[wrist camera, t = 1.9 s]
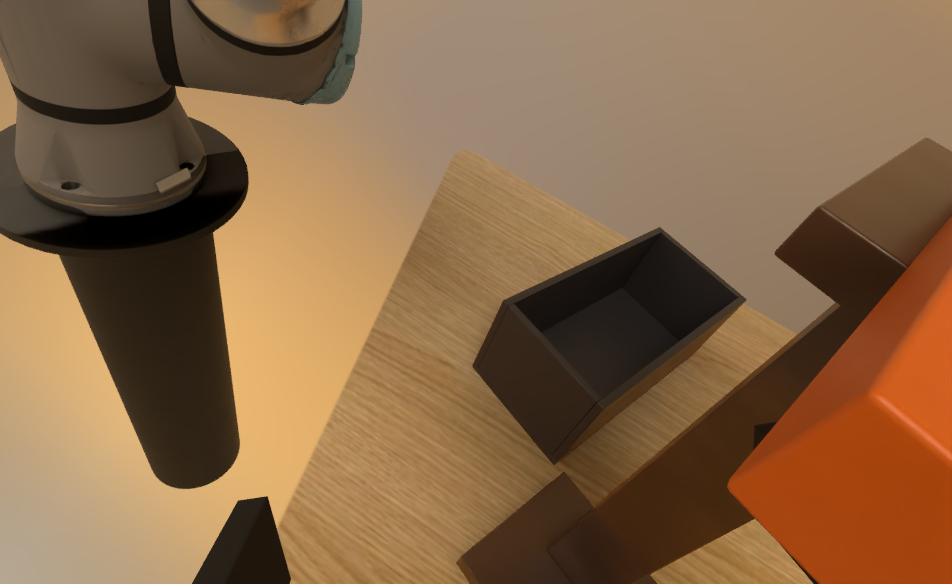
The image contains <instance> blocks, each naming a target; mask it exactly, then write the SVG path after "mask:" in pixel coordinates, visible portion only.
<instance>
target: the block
mask: <svg viewBox="0 0 952 584" xmlns="http://www.w3.org/2000/svg"><path fill="white" fill-rule="evenodd" d="M727 488H728V489H729V491H730V493H731V494H732V495H733V496H734V497H735V498H736V499H737V500H738V501H739V502H740V503H741V504H742V505H743V506H744V507H745V508H746V509H747V510H748V511H749V512H750V513H751V514H752V516H753V517H754V518H755V519H756V520H757V521H758V522H759V523H760V524H761V525H762V526H763V527H764V528H765V529H766V530H767V531H768V532H769V533H770V534H771V535H772V536H773V537H774V538H775V539H776V540H777V541H778V542H779V543H780V544H781V545H782V546H783V547H784V549H785V550H786V551H787V552H788V553H789V554H790V555H791V556H792V557H793V558H794V559H795V560H796V561H797V562H798V563H799V564H800V565H801V566H802V567H803V568H804V569H805V570H806V571H807V572H808V573H809V574H810V575H811V576H812V577H813V578H814V579H815V580H816V581H817V583H818V584H952V216H951V217H950V218H949V219H948V221H947V222H946V223H945V224H944V225H943V227H942V228H941V229H940V230H939V231H938V232H937V234H936V235H935V236H934V237H933V238H932V239H931V241H930V242H929V243H928V244H927V245H926V247H925V248H924V249H923V250H922V251H921V252H920V254H919V255H918V256H917V257H916V258H915V260H914V261H913V262H912V263H911V265H910V266H909V267H908V268H907V270H906V271H905V272H904V273H903V274H902V275H901V277H900V278H899V279H898V280H897V281H896V283H895V284H894V285H893V286H892V287H891V288H890V290H889V291H888V292H887V293H886V294H885V296H884V297H883V298H882V299H881V300H880V301H879V303H878V304H877V305H876V306H875V307H874V309H873V310H872V311H871V312H870V313H869V314H868V316H867V317H866V318H865V319H864V320H863V322H862V323H861V324H860V325H859V326H858V328H857V329H856V330H855V331H854V332H853V333H852V335H851V336H850V337H849V338H848V339H847V341H846V342H845V343H844V344H843V345H842V346H841V348H840V349H839V350H838V351H837V352H836V354H835V355H834V356H833V357H832V358H831V359H830V361H829V362H828V363H827V364H826V365H825V367H824V368H823V369H822V370H821V371H820V372H819V374H818V375H817V376H816V377H815V378H814V380H813V381H812V382H811V383H810V384H809V385H808V387H807V388H806V389H805V390H804V391H803V393H802V394H801V395H800V396H799V397H798V398H797V400H796V401H795V402H794V403H793V404H792V406H791V407H790V408H789V409H788V410H787V411H786V413H785V414H784V415H783V416H782V417H781V419H780V420H779V421H778V422H777V423H776V425H775V426H774V427H773V428H772V429H771V430H770V432H769V433H768V434H767V435H766V436H765V438H764V439H763V440H762V441H761V442H760V443H759V445H758V446H757V447H756V448H755V449H754V451H753V452H752V453H751V454H750V455H749V456H748V458H747V459H746V460H745V461H744V462H743V464H742V465H741V466H740V467H739V468H738V469H737V471H736V472H735V473H734V474H733V475H732V477H731V478H730V479H729V482H728V485H727Z"/></svg>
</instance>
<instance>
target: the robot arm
mask: <svg viewBox="0 0 952 584" xmlns="http://www.w3.org/2000/svg"><path fill="white" fill-rule="evenodd" d="M361 22H362V0H0V58H1V60H2V63H3V65H4V67H5V70H6V72H7V75H8V78H9V80H10V82H11V85H12V87H13V90H14V92H15V95H16V98H17V119H16V139H15V160H16V166H17V169H18V171H19V174H20V176H21V178H22V180H23V183H24V185H25V186H26V188H27V189H28V191H29V192H30V193H31V194H32V195H33V196H34V197H35V198H37V199H38V200H39V201H41V202H42V203H44V204H46V205H48V206H50V207H52V208H54V209H57V210H59V211H62V212H65V213H69V214H73V215H77V216H82V217H89V218H98V219H126V218H136V217H142V216H148V215H152V214H156V213H160V212H163V211H166V210H169V209H171V208H174V207H176V206H178V205H180V204H182V203H183V202H185V201H187V200H188V199H190V198H191V197H192V196H194V195H195V194H196V193H197V192H198V191H199V190H200V189H201V187H202V186H203V184H204V182H205V181H206V178H207V173H208V167H207V159H206V153H205V149H204V147H203V145H202V142H201V140H200V138H199V136H198V135H197V133H196V131H195V129H194V127H193V125H192V124H191V122H190V120H189V118H188V116H187V115H186V113H185V111H184V109H183V107H182V105H181V104H180V102H179V100H178V98H177V95H176V89H175V86H180V87H186V88H188V87H189V88H197V89H204V90H213V91H219V92H227V93H235V94H242V95H249V96H257V97H265V98H272V99H280V100H287V101H292V102H293V103H296V104H300V105H304V104H309V103H316V104H332V103H335V102H337V101H338V100H340V99H341V98H342V96H343V95H344V94H345V92H346V90H347V89H348V86H349V84H350V81H351V79H352V75H353V72H354V68H355V55H356V54H357V52H358V47H359V41H360V34H361ZM776 423H777V422H772V423H765V424H758V425H754V445H753V451H754V449H755V448H756V447H757V446H758V445H759V443H760V442H761V441H762V440H763V439H764V438H765V436H766V435H767V434H768V433H769V432H770V430H771V429H772V428H773V427H774V426H775V425H776ZM780 545H781V544H780ZM781 546H782V545H781ZM782 547H783V546H782ZM783 548H784V547H783ZM786 552H787V551H786ZM787 553H788V552H787ZM788 554H789V553H788ZM789 555H790V554H789ZM790 556H791V555H790ZM791 558H792V559H793V560H794V561H795V562H796V563H797V565H798V566H799V567H800V568H801V569H802V570H803V572H804V573H805V574H806V575H807V576H808V578H809V579H810V580H811V581H812V582H813V583H814V584H818V583H817V581H816V580H815V579H814V578H813V577H812V576H811V575H810V574H809V573H808V572H807V571H806V570H805V569H804V568H803V567H802V566H801V565H800V564H799V563H798V562H797V561H796V560H795V559H794V558H793V557H792V556H791ZM290 581H291V578H290V574H289V571H288V567H287V564H286V560H285V557H284V553H283V549H282V546H281V542H280V539H279V535H278V532H277V528H276V525H275V521H274V518H273V514H272V511H271V507H270V504H269V500H268V497H260V498H254V499H247V500H240V501H238V502H237V504H236V505H235V507H234V509H233V511H232V513H231V514H230V516H229V518H228V520H227V522H226V523H225V525H224V527H223V529H222V531H221V532H220V534H219V536H218V538H217V540H216V541H215V543H214V545H213V547H212V549H211V551H210V552H209V554H208V556H207V558H206V559H205V561H204V563H203V565H202V567H201V568H200V570H199V572H198V574H197V576H196V577H195V579H194V581H193V583H192V584H290Z"/></svg>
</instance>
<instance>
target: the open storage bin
mask: <svg viewBox="0 0 952 584" xmlns="http://www.w3.org/2000/svg"><path fill="white" fill-rule="evenodd" d="M745 301H746V298H744V297H743V296H741V294H739V293H738V292H737V291H736V290H735V289H734V288H732V287H731V286H730V285H729V284H727V283H726V282H725V281H724V280H723V279H721V278H720V277H719V276H718V275H717V274H715V273H714V272H713V271H712V270H711V269H709V268H708V267H707V266H706V265H705V264H703V263H702V262H701V261H700V260H699V259H697V258H696V257H695V256H694V255H693V254H691V253H690V252H689V251H688V250H687V249H685V248H684V247H683V246H682V245H680V244H679V243H678V242H677V241H676V240H674V239H673V238H672V237H671V236H670V235H669V234H667V233H666V232H665V231H664V230H662V229H661V228H660V227H659V228H657V229H655V230H653V231H650V232H648V233H646V234H644V235H642V236H640V237H638V238H636V239H633V240H631V241H629V242H627V243H625V244H623V245H621V246H619V247H616V248H614V249H612V250H610V251H608V252H606V253H604V254H601V255H599V256H597V257H595V258H593V259H591V260H589V261H587V262H584V263H582V264H580V265H578V266H576V267H574V268H572V269H570V270H567V271H565V272H563V273H561V274H559V275H557V276H555V277H552V278H550V279H548V280H546V281H544V282H542V283H540V284H538V285H535V286H533V287H531V288H529V289H527V290H525V291H523V292H520V293H518V294H516V295H514V296H512V297H510V298H508V299H506V300H504V301H503V302H502V304H501V306H500V309H499V311H498V313H497V315H496V317H495V319H494V321H493V323H492V326H491V328H490V330H489V332H488V334H487V336H486V338H485V340H484V343H483V345H482V347H481V349H480V351H479V353H478V355H477V357H476V360H475V362H474V364H473V368H474V369H475V370H476V371H477V373H478V374H479V375H480V376H481V377H482V379H483V380H484V381H485V382H486V384H487V385H488V386H489V387H490V388H491V390H492V391H493V392H494V393H495V394H496V396H497V397H498V398H499V399H500V400H501V402H502V403H503V404H504V405H505V407H506V408H507V409H508V410H509V411H510V413H511V414H512V415H513V416H514V417H515V419H516V420H517V421H518V422H519V423H520V425H521V426H522V427H523V428H524V430H525V431H526V432H527V433H528V434H529V436H530V437H531V438H532V439H533V440H534V442H535V443H536V444H537V445H538V446H539V448H540V449H541V450H542V451H543V453H544V454H545V455H546V456H547V457H548V459H549V460H550V461H551V462H552V463H553V465H555V464H556V463H557V462H558V461H560V460H561V459H562V458H563V457H565V456H566V455H567V454H569V453H570V452H571V451H572V450H574V449H575V448H576V447H577V446H579V445H580V444H581V443H582V442H584V441H585V440H586V439H587V438H589V437H590V436H591V435H592V434H594V433H595V432H596V431H597V430H599V429H600V428H601V427H602V426H604V425H605V424H606V423H607V422H609V421H610V420H611V419H612V418H614V417H615V416H616V415H617V414H619V413H620V412H621V411H622V410H624V409H625V408H626V407H627V406H629V405H630V404H631V403H632V402H634V401H635V400H636V399H637V398H639V397H640V396H641V395H643V394H644V393H645V392H646V391H648V390H649V389H650V388H651V387H653V386H654V385H655V384H656V383H658V382H659V381H660V380H661V379H663V378H664V377H665V376H666V375H668V374H669V373H670V372H671V371H673V370H674V369H675V368H676V367H678V366H679V365H680V364H681V363H683V362H684V361H685V360H686V359H688V358H689V357H690V356H691V355H693V354H694V353H695V352H696V351H697V350H698V349H699V348H700V347H701V345H702V344H703V343H704V342H705V341H706V340H707V339H708V338H709V337H710V336H711V335H712V334H713V333H714V332H715V331H716V330H717V329H718V328H719V327H720V326H721V325H722V324H723V323H724V322H725V321H726V320H727V319H728V318H729V317H730V316H731V315H732V314H733V313H734V312H735V311H736V310H737V309H738V308H739V307H740V306H741V305H742V304H743V303H744V302H745Z"/></svg>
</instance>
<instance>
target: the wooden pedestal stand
mask: <svg viewBox="0 0 952 584" xmlns="http://www.w3.org/2000/svg"><path fill="white" fill-rule="evenodd" d="M951 216H952V152H951V151H950V150H948V149H946V148H944V147H943V146H941V145H939V144H938V143H936V142H934V141H932V140H931V139H929V138H924V139H922V140H921V141H919V142H918V143H916V144H915V145H913V146H911V147H910V148H908V149H907V150H905V151H904V152H902V153H901V154H899V155H898V156H896V157H894V158H893V159H891V160H890V161H888V162H887V163H885V164H883V165H882V166H880V167H879V168H877V169H876V170H874V171H873V172H871V173H870V174H868V175H866V176H865V177H863V178H862V179H860V180H859V181H857V182H855V183H854V184H852V185H851V186H849V187H848V188H846V189H845V190H843V191H842V192H840V193H838V194H837V195H835V196H834V197H832V198H831V199H829V200H827V201H826V202H824V203H823V204H821V205H820V206H818V207H817V208H816V209H815V210H814V211H813V212H812V213H811V214H810V215H809V216H808V217H807V218H806V219H805V221H804V222H803V223H802V224H801V225H800V226H799V227H798V228H797V229H796V230H795V231H794V232H793V233H792V234H791V235H790V236H789V237H788V238H787V239H786V240H785V241H784V242H783V244H782V245H781V246H780V247H779V248H778V249H777V250H776V251H775V255H776V256H777V257H778V258H779V259H781V260H782V261H783V262H784V263H786V264H787V265H788V266H790V267H791V268H792V269H794V270H795V271H796V272H797V273H799V274H800V275H801V276H803V277H804V278H805V279H807V280H808V281H809V282H811V283H812V284H813V285H814V286H816V287H817V288H818V289H820V290H821V291H822V292H823V293H825V294H826V295H827V296H829V297H830V298H831V299H833V300H834V301H835V302H836V303H835V304H833V305H832V306H831V307H830V308H829V309H827V310H826V311H825V312H824V313H823V314H821V315H820V316H819V317H818V318H817V319H816V320H815V321H813V322H812V323H811V324H810V325H809V326H807V327H806V328H805V329H804V330H803V331H801V332H800V333H799V334H798V335H797V336H795V337H794V338H793V339H792V340H791V341H790V342H788V343H787V344H786V345H785V346H784V347H782V348H781V349H780V350H779V351H778V352H776V353H775V354H774V355H773V356H772V357H771V358H769V359H768V360H767V361H766V362H765V363H763V364H762V365H761V366H760V367H759V368H758V369H756V370H755V371H754V372H753V373H752V374H750V375H749V376H748V377H747V378H746V379H744V380H743V381H742V382H741V383H740V384H739V385H737V386H736V387H735V388H734V389H733V390H731V391H730V392H729V393H728V394H727V395H726V396H724V397H723V398H722V399H721V400H720V401H718V402H717V403H716V404H715V405H714V406H713V407H711V408H710V409H709V410H708V411H707V412H705V413H704V414H703V415H702V416H701V417H699V418H698V419H697V420H696V421H695V422H694V423H692V424H691V425H690V426H689V427H688V428H686V429H685V430H684V431H683V432H682V433H681V434H679V435H678V436H677V437H676V438H675V439H673V440H672V441H671V442H670V443H669V444H668V445H666V446H665V447H664V448H663V449H662V450H660V451H659V452H658V453H657V454H656V455H654V456H653V457H652V458H651V459H650V460H649V461H647V462H646V463H645V464H644V465H643V466H641V467H640V468H639V469H638V470H637V471H636V472H634V473H633V474H632V475H631V476H630V477H628V478H627V479H626V480H625V481H624V482H622V483H621V484H620V485H619V486H618V487H617V488H615V489H614V490H613V491H612V492H611V493H609V494H608V495H607V496H606V497H605V498H604V499H602V500H601V501H600V502H599V503H598V504H596V505H595V506H594V507H593V506H592V505H591V503H590V502H589V501H588V500H587V499H586V497H585V496H584V495H583V494H582V493H581V491H580V490H579V489H578V488H577V487H576V485H575V484H574V483H573V482H572V481H571V479H570V478H569V477H568V476H567V475H566V473H565V472H563V473H562V474H561V475H560V476H558V477H557V478H556V479H555V480H554V481H552V482H551V483H550V484H549V485H548V486H546V487H545V488H544V489H543V490H542V491H540V492H539V493H538V494H537V495H535V496H534V497H533V498H532V499H531V500H529V501H528V502H527V503H526V504H525V505H523V506H522V507H521V508H520V509H518V510H517V511H516V512H515V513H514V514H512V515H511V516H510V517H509V518H508V519H506V520H505V521H504V522H503V523H501V524H500V525H499V526H498V527H497V528H495V529H494V530H493V531H492V532H491V533H489V534H488V535H487V536H486V537H484V538H483V539H482V540H481V541H480V542H478V543H477V544H476V545H475V546H474V547H472V548H471V549H470V550H469V551H467V552H466V553H465V554H464V555H463V556H461V557H460V559H459V560H458V561H457V564H458V566H459V567H460V569H461V570H462V572H463V573H464V575H465V576H466V578H467V579H468V581H469V582H470V584H657V583H656V582H655V580H654V579H653V578H652V577H651V576H650V574H652V573H653V572H655V571H657V570H659V569H661V568H663V567H665V566H667V565H668V564H670V563H672V562H674V561H676V560H678V559H680V558H682V557H684V556H685V555H687V554H689V553H691V552H693V551H695V550H697V549H699V548H700V547H702V546H704V545H706V544H708V543H710V542H712V541H714V540H715V539H717V538H719V537H721V536H723V535H725V534H727V533H729V532H731V531H732V530H734V529H736V528H738V527H740V526H742V525H744V524H746V523H747V522H749V521H751V520H753V519H755V518H754V517H753V516H752V514H751V513H750V512H749V511H748V510H747V509H746V508H745V507H744V506H743V505H742V504H741V503H740V502H739V501H738V500H737V499H736V498H735V497H734V496H733V495H732V494H731V493H730V491H729V489H728V488H727V485H728V482H729V479H730V478H731V477H732V475H733V474H734V473H735V472H736V471H737V469H738V468H739V467H740V466H741V465H742V464H743V462H744V461H745V460H746V459H747V458H748V456H749V455H750V454H751V453H752V452H753V445H754V425H758V424H765V423H772V422H778V421H779V420H780V419H781V417H782V416H783V415H784V414H785V413H786V411H787V410H788V409H789V408H790V407H791V406H792V404H793V403H794V402H795V401H796V400H797V398H798V397H799V396H800V395H801V394H802V393H803V391H804V390H805V389H806V388H807V387H808V385H809V384H810V383H811V382H812V381H813V380H814V378H815V377H816V376H817V375H818V374H819V372H820V371H821V370H822V369H823V368H824V367H825V365H826V364H827V363H828V362H829V361H830V359H831V358H832V357H833V356H834V355H835V354H836V352H837V351H838V350H839V349H840V348H841V346H842V345H843V344H844V343H845V342H846V341H847V339H848V338H849V337H850V336H851V335H852V333H853V332H854V331H855V330H856V329H857V328H858V326H859V325H860V324H861V323H862V322H863V320H864V319H865V318H866V317H867V316H868V314H869V313H870V312H871V311H872V310H873V309H874V307H875V306H876V305H877V304H878V303H879V301H880V300H881V299H882V298H883V297H884V296H885V294H886V293H887V292H888V291H889V290H890V288H891V287H892V286H893V285H894V284H895V283H896V281H897V280H898V279H899V278H900V277H901V275H902V274H903V273H904V272H905V271H906V270H907V268H908V267H909V266H910V265H911V263H912V262H913V261H914V260H915V258H916V257H917V256H918V255H919V254H920V252H921V251H922V250H923V249H924V248H925V247H926V245H927V244H928V243H929V242H930V241H931V239H932V238H933V237H934V236H935V235H936V234H937V232H938V231H939V230H940V229H941V228H942V227H943V225H944V224H945V223H946V222H947V221H948V219H949V218H950V217H951Z"/></svg>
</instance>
